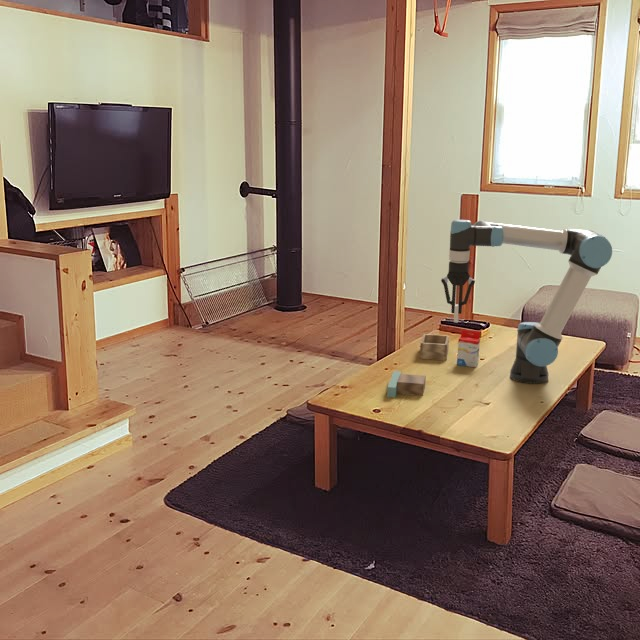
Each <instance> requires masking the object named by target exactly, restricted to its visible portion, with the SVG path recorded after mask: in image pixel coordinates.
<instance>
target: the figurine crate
mask: <svg viewBox="0 0 640 640" xmlns="http://www.w3.org/2000/svg"><path fill="white" fill-rule="evenodd" d="M449 343H450V335H446V334H445V335H444V334H430V333H422V338H421V341H420V348H419V350H420V351H419V352H420V353H419V359H423V360H437V361H438V360H439V361H447V360H448V359H447V358H448V354H449V346H450V345H449Z"/></svg>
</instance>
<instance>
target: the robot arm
mask: <svg viewBox="0 0 640 640" xmlns="http://www.w3.org/2000/svg"><path fill="white" fill-rule="evenodd" d="M449 232H450V235H449V255H448V256H449V257H448V260H449V262H448V272H447V275H446V276H445V277H442V278H441V279H440V281H441V283H442V285H443V289H444V294H445V298H446V303H447V304H449V305H450V306H451V314H453V323H456V324H457V323H459V314H462V308H463V306H464V305H467V304H468V300H469V298H470V295H471V291H472V287H473V286H474V285H475V284H476V283H475V282H476V280H475V279H474V278H472V277H471V276H470V262H469V261H470V254H471V253H470V252H471V247H492V248H493V247H501V246H502V245H503V244H504V245H512V246H520V247H521V246H522V247H526V248H528V247H530V248H536V249H544V250H552V251H558V252H559V253H560V254H564V255H569V256H570V257H569V259H568V264H569V268H568V269H567V272H566V273H565V275H564V277H563V279H562V281H561V283H560V285H559V287H558V288H557V290H556V292H555V294H554V295H553V298H552V299H551V302H550V304H549V305H548V307H547V309H546V311H545V313H544V315H543V316H542V318H541V320H540V322H533V321H532V322H531V321H523V322H520V323H519V324H518V326H517V330H516V331H517V338H516V349H515V359H514V361H513V364H512V366H511V368H510V371H509V376H510V379H512V380H513V381H517V382H519V383H520V382H521V383H524V384H542V383H546V382H549V371H548V366H549V365H551V364H553V363H554V362H555V361H556V360H557V358H558V355H559V348H558V347H559V346H560V344H561V342H562V340H563V336H562V332H563V330H564V328H565V326H566V324H567V322H568V321H569V319H570V317H571V315H572V313H573V311H574V309H575V307H577V304H578V302H579V300H580V298H581V296H582V295H583V293H584V291H585V289H586V287H587V286H588V284H589V282H590V280H591V278H592V277H594V276H597V275H598V274H599V272H600V270H601V268H602V267H604V266H605V265H607V264H608V263H609V262H610V260H611V259H612V255H613V246H612V244H611V242H610V241H609V240H608V238H607V237H606V236H604V235H603V234H599V233H597V232H595V231H593V230H590V229H589V230H588V229H569V228H564V229H562V230H555V229H548V228H541V227H540V228H538V227H531V226H522V225H514V224H506V223H496V222H489V221H486V220H478V221H476V222H475V223H474V224H473V225H472V221H471V220H468V219H454V220H452V222H451V225H450V231H449ZM448 282H450V283H451V285H452V293H451V294H452V296H451V297H450V291H449V286H448V285H449V284H448ZM467 283H468V286H467V290H466V293H465V296H464V299H463V293H464V291H463V290H464V286H465V284H467ZM457 286H458V287H459V288H458V290H459V293H458V303H457V304H456V292H457Z"/></svg>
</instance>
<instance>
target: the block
mask: <svg viewBox="0 0 640 640" xmlns="http://www.w3.org/2000/svg"><path fill="white" fill-rule="evenodd" d="M426 378H427V377H426V375H421V374H420V375H419V374H408V373H401V374H400V376H399V379H398V381H397V394H396V395H398V394H399V395H411V396H424V395H425V388H426Z"/></svg>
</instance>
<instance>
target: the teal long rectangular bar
mask: <svg viewBox="0 0 640 640" xmlns="http://www.w3.org/2000/svg"><path fill="white" fill-rule="evenodd" d="M400 374H402V371H401V370H400V371H399V370H393V372H392V375H391V378H390V380H389V383H388V385H387V392H386V393H387V394H386V395H387V398H393V399H395V398H396V396H397V395H398V394H397V381H398V379H399V376H400Z"/></svg>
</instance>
